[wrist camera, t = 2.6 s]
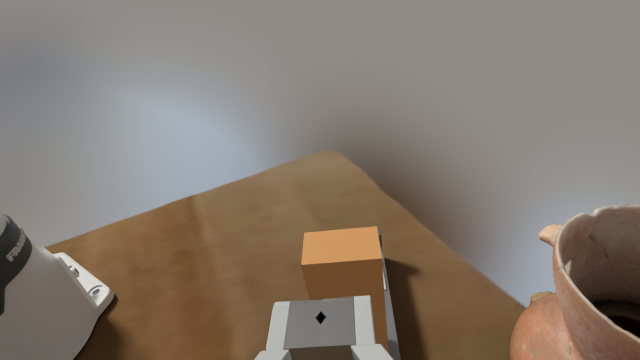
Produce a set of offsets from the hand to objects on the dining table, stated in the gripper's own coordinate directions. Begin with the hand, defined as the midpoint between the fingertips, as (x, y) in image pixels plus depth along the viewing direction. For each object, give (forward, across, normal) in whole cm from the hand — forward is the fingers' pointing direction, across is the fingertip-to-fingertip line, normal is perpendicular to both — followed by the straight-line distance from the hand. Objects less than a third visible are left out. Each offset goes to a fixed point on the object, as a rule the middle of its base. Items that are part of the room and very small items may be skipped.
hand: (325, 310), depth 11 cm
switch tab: (+10, 0, +19) cm, 21 cm away
